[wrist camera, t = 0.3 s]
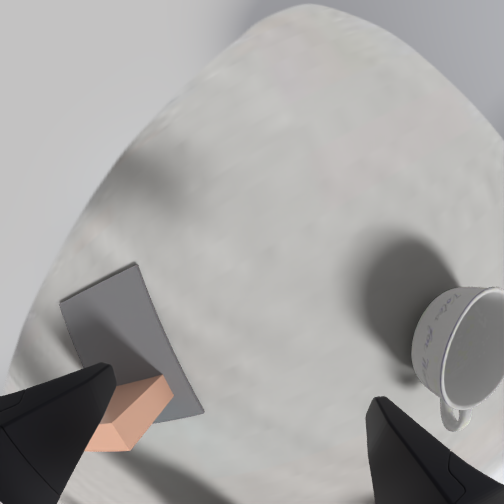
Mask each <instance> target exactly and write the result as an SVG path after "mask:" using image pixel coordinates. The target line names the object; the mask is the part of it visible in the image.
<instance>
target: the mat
mask: <svg viewBox="0 0 504 504" xmlns="http://www.w3.org/2000/svg"><path fill="white" fill-rule="evenodd" d="M59 306H60V309H61V312H62V315H63V317H64V320H65V323H66V326H67V328H68V331H69V334H70V336H71V339H72V341H73V344H74V346H75V349H76V351H77V353H78V356H79V358H80V360H81V362H82V364H83V367H84V368H86V367H89V366H92V365H94V364H97V363H99V362H105V363H108V364H111V365H112V366H113V369H114V373H115V377H116V380H117V386H120V385H124V384H128V383H132V382H136V381H140V380H144V379H148V378H151V377H155V376H159V375H162V374H163V376H164V378H165V380H166V381H167V383H168V385H169V387H170V389H171V391H172V393H173V395H174V396H173V398H172V399H171V400H170V402H169V403H168V404H167V405H166V407H165V408H164V409H163V410H162V412H161V413H160V414H159V415H158V417H157V418H156V419H155V421H154V422H153V423H152V424H154V423H160V422H165V421H171V420H176V419H181V418H186V417H191V416H195V415H199V414H203V413H204V409H203V408H202V406H201V404H200V402H199V400H198V399H197V397H196V395H195V393H194V391H193V389H192V387H191V385H190V384H189V382H188V380H187V378H186V376H185V374H184V372H183V370H182V368H181V366H180V364H179V362H178V360H177V358H176V355H175V353H174V351H173V349H172V347H171V345H170V343H169V340H168V338H167V336H166V334H165V332H164V329H163V327H162V325H161V322H160V320H159V318H158V315H157V313H156V311H155V308H154V306H153V303H152V301H151V298H150V296H149V293H148V291H147V288H146V286H145V283H144V280H143V278H142V275H141V272H140V269H139V267H138V265H135V266H133V267H131V268H129V269H126V270H124V271H122V272H120V273H118V274H116V275H114V276H112V277H110V278H108V279H106V280H104V281H102V282H100V283H98V284H97V285H95V286H93V287H91V288H89V289H87V290H85V291H83V292H81V293H79V294H77V295H75V296H73V297H71V298H69V299H68V300H66V301H64V302H62V303H60V304H59Z"/></svg>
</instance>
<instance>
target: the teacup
mask: <svg viewBox="0 0 504 504" xmlns="http://www.w3.org/2000/svg"><path fill="white" fill-rule="evenodd" d="M411 355H412V364H413V368H414V371H415V373H416V375H417V377H418V378H419V380H420V381H421V382H422V383H423V384H424V385H425V386H426V387H427V388H428V389H429V390H430V391H432V392H433V393H434V394H436V395H437V396H438V397H440V408H441V418H442V422H443V424H444V426H445V428H446V429H447V430H449V431H452V432H456V431H459V430H461V429H463V428H465V427H466V426H467V425H468V423H469V421H470V419H471V416H472V408H473V407H475V406H477V405H479V404H481V403H482V402H483V401H485V400H486V399H487V398H488V397H489V396H490V395H491V394H492V393H493V392H494V391H495V390H496V389H497V387H498V386H499V385H500V383H501V382H502V380H503V378H504V289H502V288H499V287H490V288H480V287H459V288H454V289H451V290H448V291H446V292H444V293H442V294H441V295H439V296H438V297H437V298H436V299H434V300H433V301H432V302H431V303H430V305H429V306H428V307H427V308H426V310H425V311H424V313H423V314H422V316H421V318H420V320H419V322H418V324H417V327H416V330H415V333H414V336H413V341H412V352H411ZM453 409H455V410H459V420H458V421H457V420H456V418H455V417H454V413H453Z"/></svg>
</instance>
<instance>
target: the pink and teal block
mask: <svg viewBox="0 0 504 504" xmlns="http://www.w3.org/2000/svg"><path fill="white" fill-rule="evenodd" d="M173 396H174V395H173V393H172V391H171V389H170V387H169V385H168V383H167V381H166V380H165V378H164V376H163V374H162V375H159V376H155V377H151V378H148V379H144V380H140V381H136V382H132V383H128V384H124V385H120V386H116V389H115V391H114V393H113V396H112V398H111V400H110V402H109V405H108V407H107V409H106V412H105V414H104V416H103V418H102V420H101V422H100V424H99V425H98V427H97V429H96V431H95V432H94V434H93V436H92V438H91V440H90V441H89V443H88V445H87V447H86V449H85V450H84V451H93V452H110V451H130V450H131V449H132V448H133V447H134V445H135V444H136V443H137V442H138V440H139V439H140V438H141V437H142V435H143V434H144V433H145V432H146V431H147V429H148V428H149V427H150V426H151V424H152V423H153V422H154V421H155V419H156V418H157V417H158V415H159V414H160V413H161V412H162V410H163V409H164V408H165V407H166V405H167V404H168V403H169V402H170V400H171V399H172V398H173Z"/></svg>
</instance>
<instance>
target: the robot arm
mask: <svg viewBox="0 0 504 504" xmlns="http://www.w3.org/2000/svg"><path fill="white" fill-rule="evenodd" d="M116 386H117V380H116V377H115V373H114V369H113V366H112V365H111V364H108V363H105V362H99V363H97V364H94V365H92V366H89V367H86V368H84V369H81V370H78V371H76V372H73V373H70V374H67V375H65V376H62V377H59V378H56V379H54V380H51V381H48V382H45V383H42V384H39V385H36V386H33V387H30V388H27V389H26V390H25V389H24V390H21V391H18V392H15V393H12V394H8V395H4V396H0V504H57V502H58V500H59V498H60V496H61V494H62V492H63V490H64V488H65V486H66V484H67V482H68V480H69V478H70V476H71V474H72V473H73V471H74V469H75V467H76V465H77V463H78V461H79V460H80V458H81V456H82V454H83V452H84V450H85V449H86V447H87V445H88V443H89V441H90V440H91V438H92V436H93V434H94V432H95V431H96V429H97V427H98V425H99V424H100V422H101V420H102V418H103V416H104V414H105V412H106V409H107V407H108V405H109V402H110V400H111V398H112V396H113V393H114V391H115V389H116ZM366 431H367V448H368V459H369V465H370V471H371V477H372V483H373V490H374V497H375V504H504V485H503V484H501V483H499V482H497V481H495V480H494V479H492V478H490V477H488V476H487V475H485V474H483V473H482V472H480V471H478V470H477V469H475V468H474V467H472V466H471V465H469V464H468V463H466V462H465V461H464V460H462V459H461V458H460V457H458V456H457V455H456V454H454V453H453V452H452V451H450V450H449V449H448V448H447V447H446V446H444V445H443V444H442V443H441V442H440V441H438V440H437V439H436V438H435V437H433V436H432V435H431V434H430V433H429V432H427V431H426V430H425V429H424V428H423V427H421V426H420V425H419V424H418V423H417V422H415V421H414V420H413V419H412V418H411V417H409V416H408V415H407V414H406V413H405V412H403V411H402V410H401V409H400V408H399V407H398V406H396V405H395V404H394V403H393V402H392V401H390V400H389V399H388V398H387V397H384V396H382V397H374V398H373V400H372V402H371V404H370V406H369V409H368V411H367V413H366Z"/></svg>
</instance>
